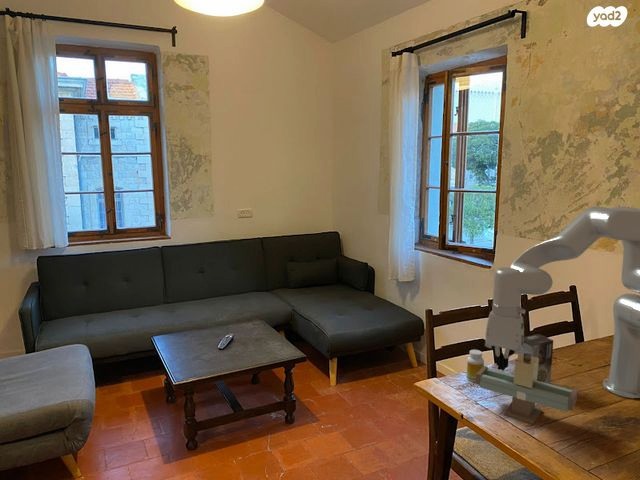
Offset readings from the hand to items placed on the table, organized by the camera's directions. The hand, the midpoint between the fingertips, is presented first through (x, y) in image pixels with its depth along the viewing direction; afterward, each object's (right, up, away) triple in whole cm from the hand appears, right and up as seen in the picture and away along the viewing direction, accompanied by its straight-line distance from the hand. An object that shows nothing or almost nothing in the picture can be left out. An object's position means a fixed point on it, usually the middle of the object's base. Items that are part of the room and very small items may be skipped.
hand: (502, 368), depth 144 cm
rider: (+6, -5, -3) cm, 8 cm away
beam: (+6, -13, -2) cm, 14 cm away
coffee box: (+16, -10, +15) cm, 24 cm away
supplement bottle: (-2, -9, +20) cm, 22 cm away
